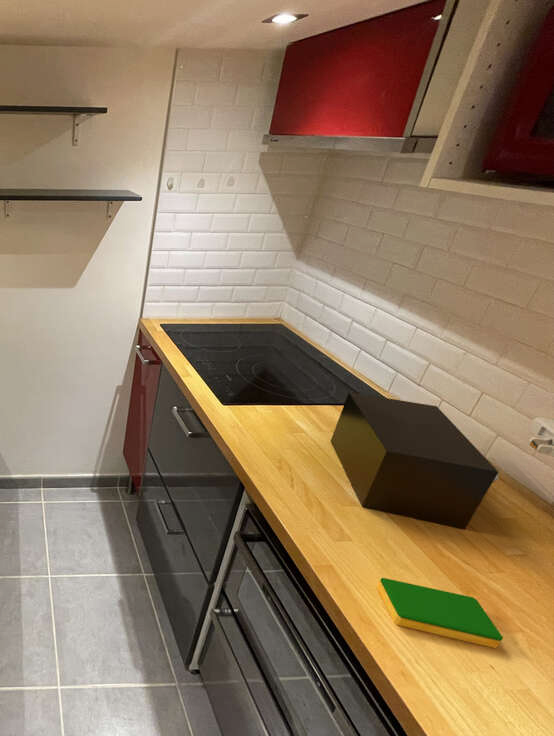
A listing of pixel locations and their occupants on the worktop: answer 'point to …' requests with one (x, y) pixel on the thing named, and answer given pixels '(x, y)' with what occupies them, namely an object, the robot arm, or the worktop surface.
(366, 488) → the black box
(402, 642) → the worktop surface
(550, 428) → the robot arm
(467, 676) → the worktop surface
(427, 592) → the dish sponge
